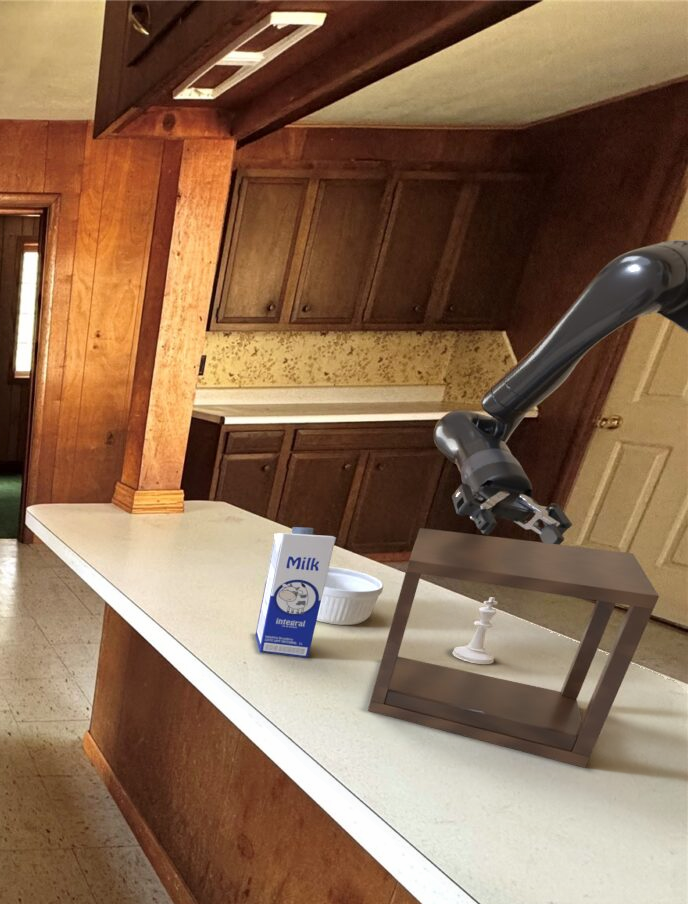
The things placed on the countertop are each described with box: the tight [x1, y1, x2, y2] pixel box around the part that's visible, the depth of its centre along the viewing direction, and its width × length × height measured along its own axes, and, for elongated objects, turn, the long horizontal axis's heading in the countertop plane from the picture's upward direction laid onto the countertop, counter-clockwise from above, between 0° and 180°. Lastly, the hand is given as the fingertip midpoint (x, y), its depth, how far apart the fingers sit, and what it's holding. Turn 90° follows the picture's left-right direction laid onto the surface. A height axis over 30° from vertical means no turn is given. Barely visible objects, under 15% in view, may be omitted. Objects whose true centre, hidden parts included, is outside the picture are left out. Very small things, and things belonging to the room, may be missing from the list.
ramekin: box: [316, 566, 384, 626], centre depth 119 cm, size 13×13×7 cm
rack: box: [367, 527, 660, 768], centre depth 85 cm, size 21×18×22 cm
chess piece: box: [451, 596, 499, 665], centre depth 101 cm, size 5×5×10 cm
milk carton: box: [255, 526, 337, 659], centre depth 104 cm, size 7×7×20 cm
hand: (522, 537), depth 99 cm, fingers open, 8 cm apart
